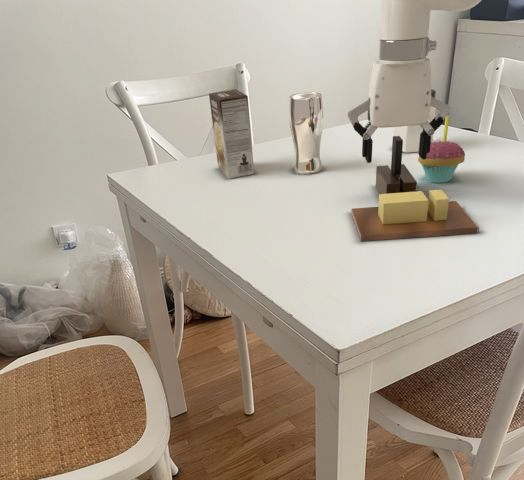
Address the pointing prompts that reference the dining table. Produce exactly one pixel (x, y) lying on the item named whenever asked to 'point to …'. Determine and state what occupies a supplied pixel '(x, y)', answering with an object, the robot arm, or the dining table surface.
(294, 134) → the beer glass
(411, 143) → the jar
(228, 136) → the coffee box
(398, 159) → the knife
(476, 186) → the dining table surface
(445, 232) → the board
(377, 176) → the knife block
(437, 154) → the cupcake
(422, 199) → the butter
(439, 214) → the butter slice
